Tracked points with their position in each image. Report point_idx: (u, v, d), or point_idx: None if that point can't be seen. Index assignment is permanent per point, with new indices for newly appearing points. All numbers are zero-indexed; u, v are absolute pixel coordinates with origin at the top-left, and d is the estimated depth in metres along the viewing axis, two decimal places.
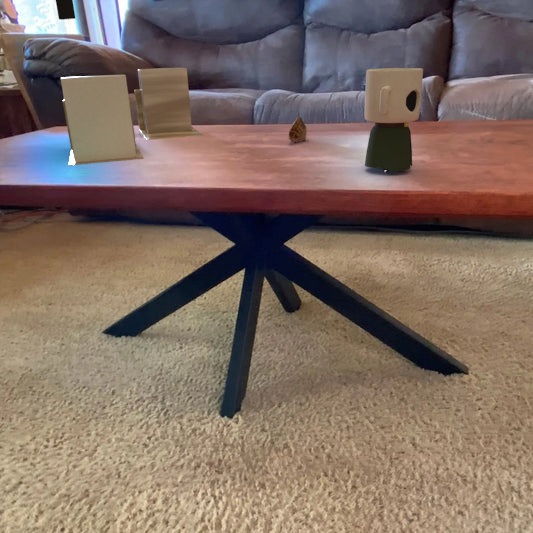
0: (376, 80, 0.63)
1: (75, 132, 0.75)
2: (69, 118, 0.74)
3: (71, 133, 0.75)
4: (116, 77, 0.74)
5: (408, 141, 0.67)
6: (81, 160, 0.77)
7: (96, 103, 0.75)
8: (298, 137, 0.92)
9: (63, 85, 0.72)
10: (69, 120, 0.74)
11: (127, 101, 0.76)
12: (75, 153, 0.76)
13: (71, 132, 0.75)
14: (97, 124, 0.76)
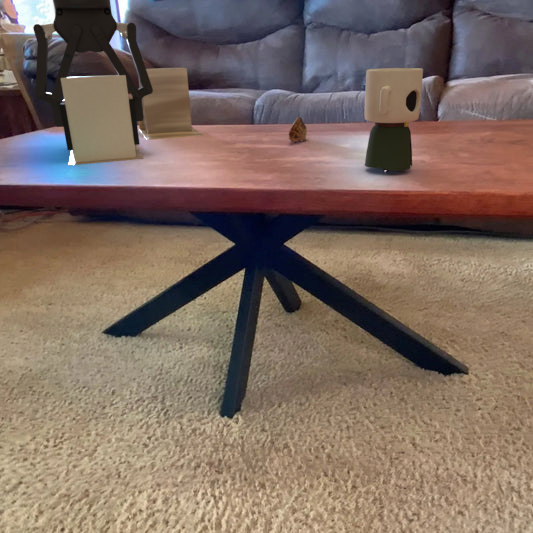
0: (376, 80, 0.63)
1: (75, 132, 0.75)
2: (69, 118, 0.74)
3: (71, 133, 0.75)
4: (116, 77, 0.74)
5: (408, 141, 0.67)
6: (81, 160, 0.77)
7: (96, 103, 0.75)
8: (298, 137, 0.92)
9: (63, 85, 0.72)
10: (69, 120, 0.74)
11: (127, 101, 0.76)
12: (75, 153, 0.76)
13: (71, 132, 0.75)
14: (97, 124, 0.76)
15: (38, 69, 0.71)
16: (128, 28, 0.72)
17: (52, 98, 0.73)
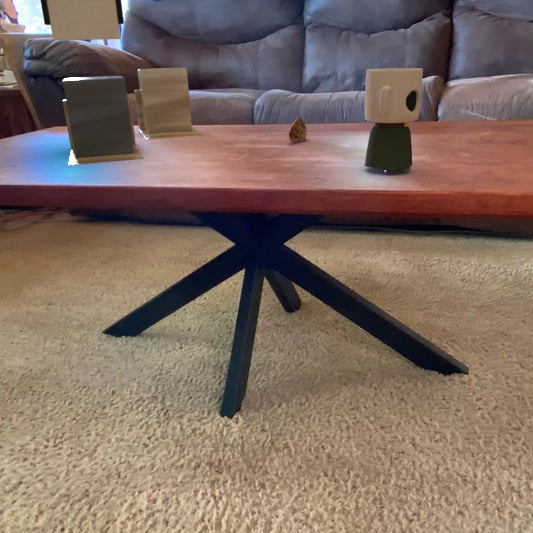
0: (376, 80, 0.63)
1: (52, 3, 0.69)
2: None
3: (48, 4, 0.69)
4: None
5: (408, 141, 0.67)
6: (59, 37, 0.70)
7: None
8: (298, 137, 0.92)
9: None
10: None
11: None
12: (53, 28, 0.70)
13: (48, 3, 0.69)
14: None
15: None
16: None
17: None
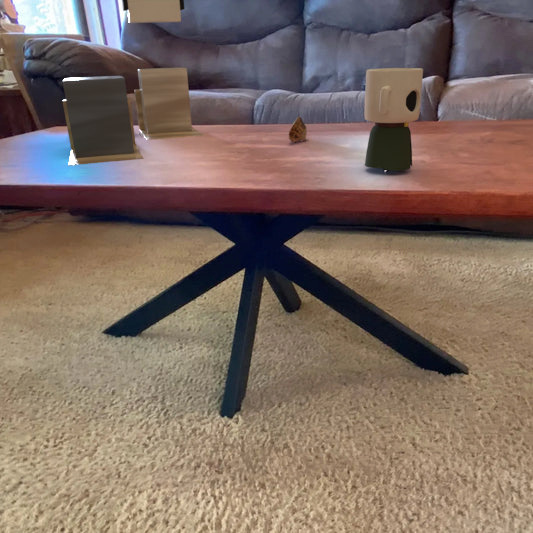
0: (376, 80, 0.63)
1: None
2: None
3: None
4: None
5: (408, 141, 0.67)
6: (135, 20, 0.89)
7: None
8: (298, 137, 0.92)
9: None
10: None
11: None
12: (130, 13, 0.88)
13: None
14: None
15: None
16: None
17: None
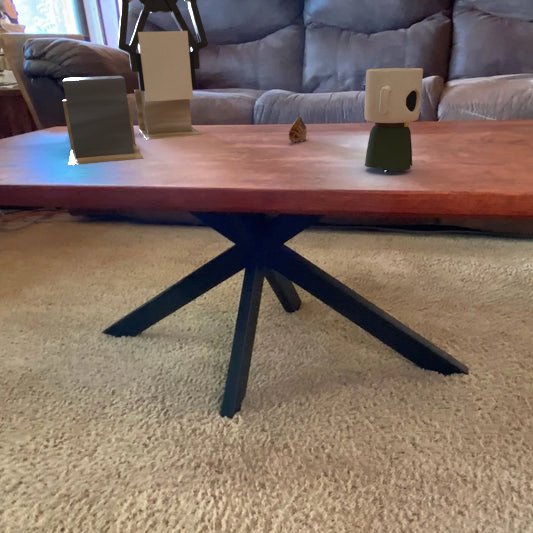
0: (376, 80, 0.63)
1: (147, 76, 0.95)
2: (143, 65, 0.94)
3: (144, 77, 0.95)
4: (180, 32, 0.94)
5: (408, 141, 0.67)
6: (150, 99, 0.96)
7: (164, 53, 0.94)
8: (298, 137, 0.92)
9: (139, 38, 0.92)
10: (143, 66, 0.94)
11: (188, 52, 0.95)
12: (146, 93, 0.96)
13: (144, 76, 0.95)
14: (164, 70, 0.95)
15: (121, 24, 0.91)
16: None
17: (131, 48, 0.92)
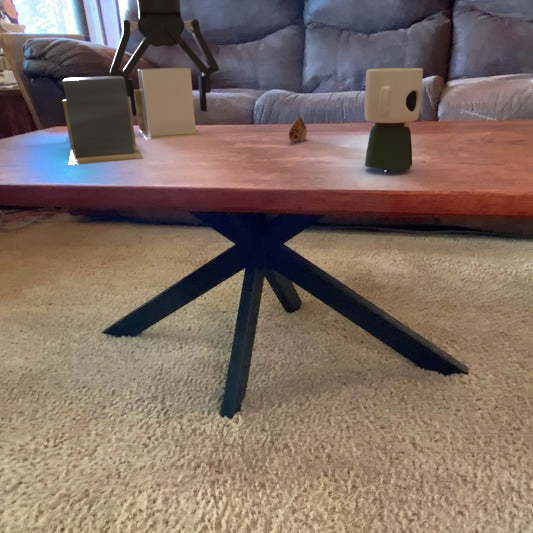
0: (376, 80, 0.63)
1: (151, 112, 0.97)
2: (147, 101, 0.96)
3: (148, 113, 0.97)
4: (183, 70, 0.96)
5: (408, 141, 0.67)
6: (154, 134, 0.99)
7: (167, 90, 0.97)
8: (298, 137, 0.92)
9: (144, 76, 0.95)
10: (147, 103, 0.97)
11: (191, 88, 0.98)
12: (150, 129, 0.98)
13: (148, 112, 0.97)
14: (167, 106, 0.98)
15: (118, 52, 0.92)
16: (193, 24, 0.94)
17: (123, 74, 0.94)
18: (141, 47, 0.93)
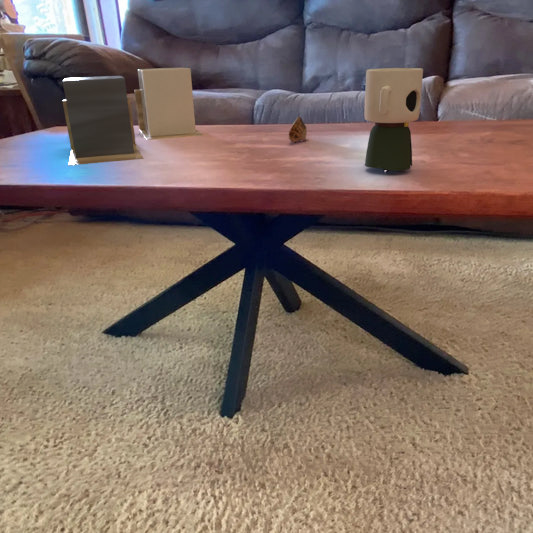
0: (376, 80, 0.63)
1: (151, 112, 0.97)
2: (147, 101, 0.96)
3: (148, 113, 0.97)
4: (183, 70, 0.96)
5: (408, 141, 0.67)
6: (154, 134, 0.99)
7: (167, 90, 0.97)
8: (298, 137, 0.92)
9: (144, 76, 0.95)
10: (147, 103, 0.97)
11: (191, 88, 0.98)
12: (150, 129, 0.98)
13: (148, 112, 0.97)
14: (167, 106, 0.98)
15: None
16: None
17: None
18: None
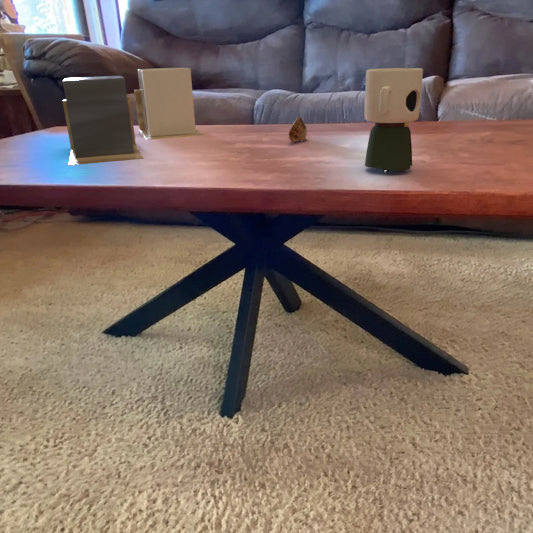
0: (376, 80, 0.63)
1: (151, 112, 0.97)
2: (147, 101, 0.96)
3: (148, 113, 0.97)
4: (183, 70, 0.96)
5: (408, 141, 0.67)
6: (154, 134, 0.99)
7: (167, 90, 0.97)
8: (298, 137, 0.92)
9: (144, 76, 0.95)
10: (147, 103, 0.97)
11: (191, 88, 0.98)
12: (150, 129, 0.98)
13: (148, 112, 0.97)
14: (167, 106, 0.98)
15: None
16: None
17: None
18: None
